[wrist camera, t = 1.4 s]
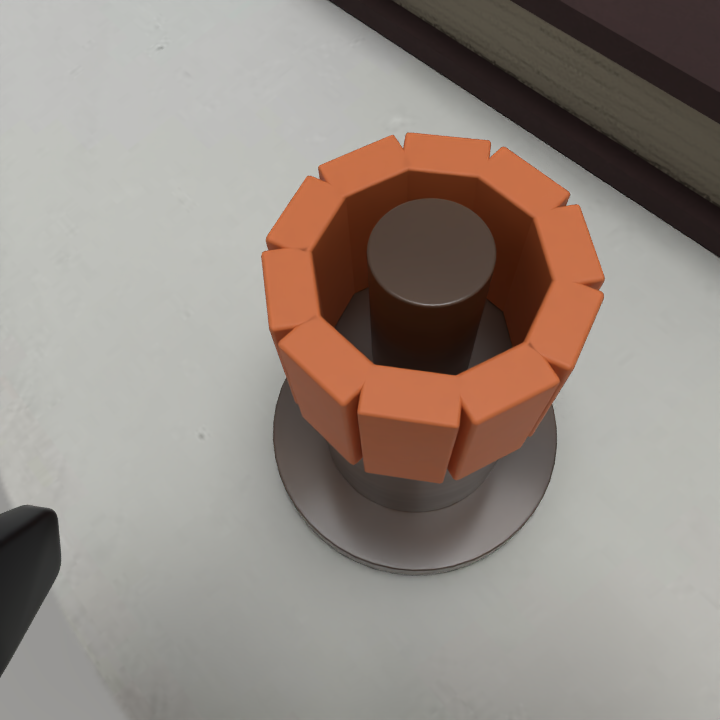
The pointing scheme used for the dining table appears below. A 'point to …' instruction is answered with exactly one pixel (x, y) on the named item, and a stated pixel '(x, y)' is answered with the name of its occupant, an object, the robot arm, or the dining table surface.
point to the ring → (507, 291)
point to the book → (589, 85)
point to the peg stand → (424, 353)
